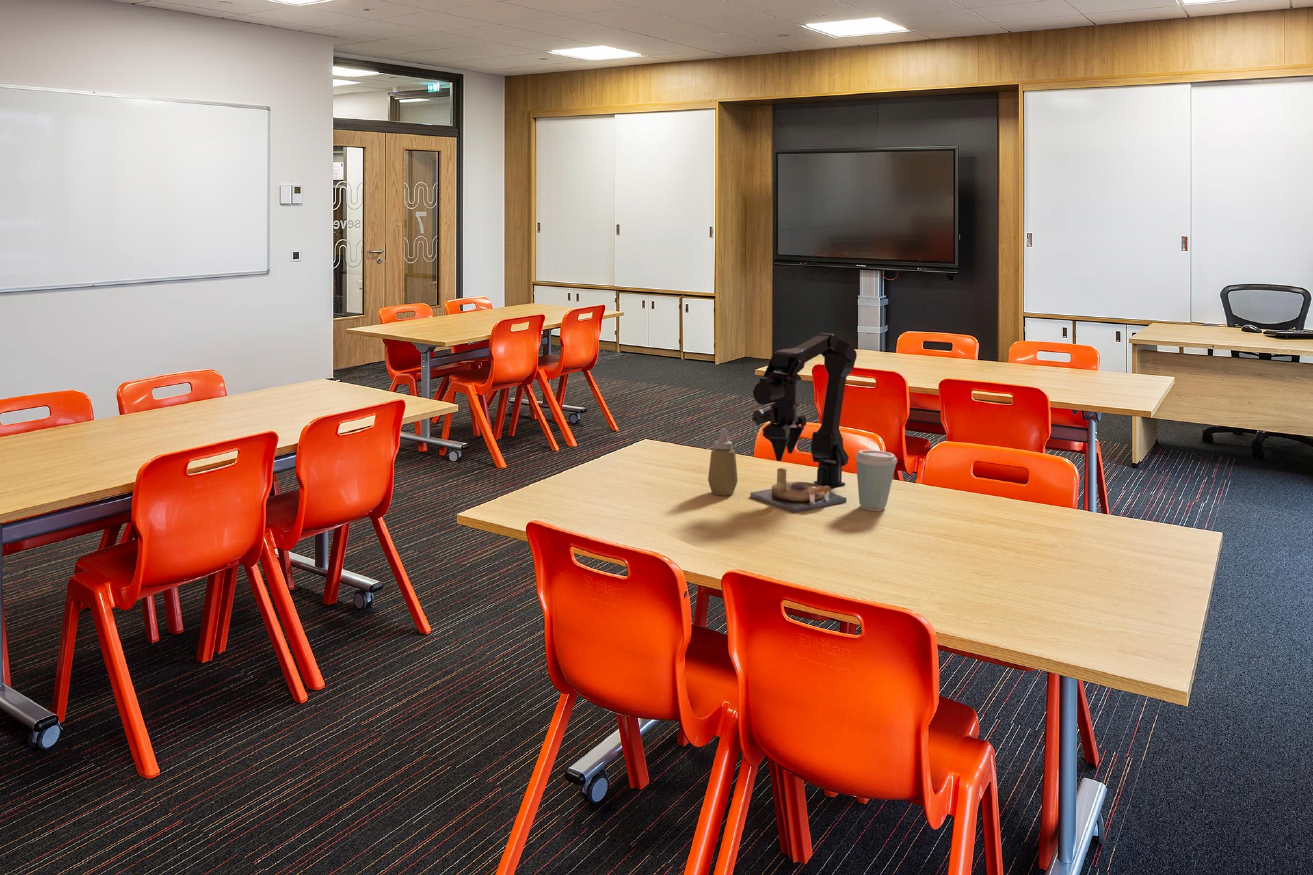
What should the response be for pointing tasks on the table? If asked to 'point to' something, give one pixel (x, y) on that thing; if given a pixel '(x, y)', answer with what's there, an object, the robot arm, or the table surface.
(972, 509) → the table surface
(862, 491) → the disposable coffee cup
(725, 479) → the squeeze bottle
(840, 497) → the level stand
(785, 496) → the cam dial
